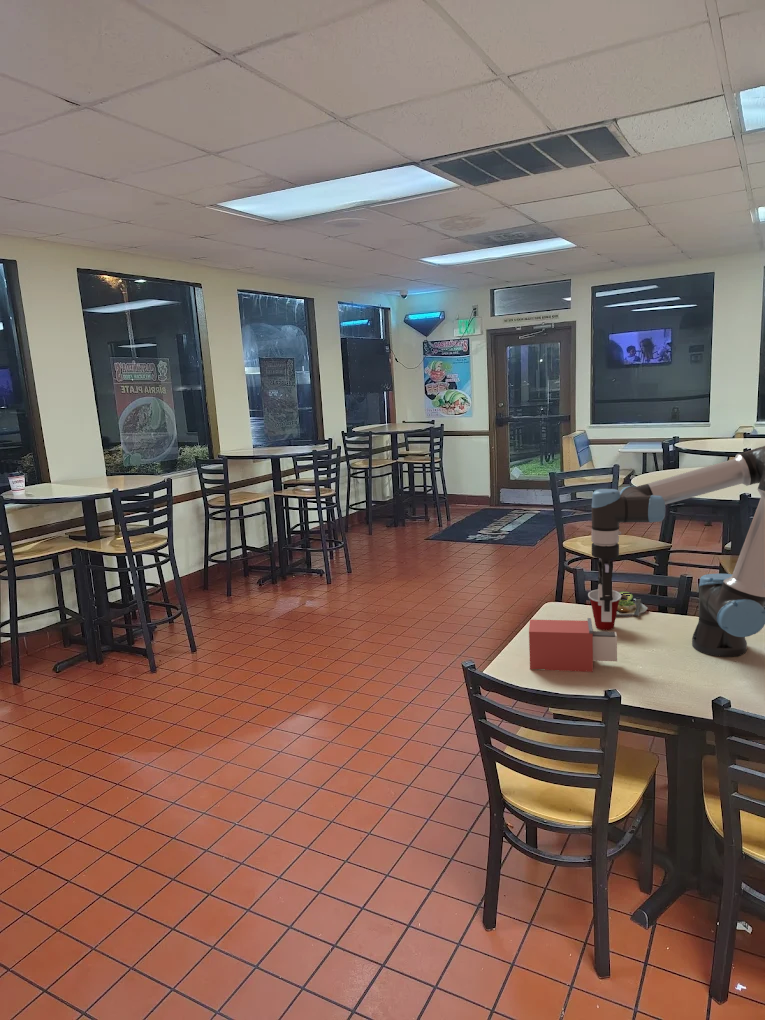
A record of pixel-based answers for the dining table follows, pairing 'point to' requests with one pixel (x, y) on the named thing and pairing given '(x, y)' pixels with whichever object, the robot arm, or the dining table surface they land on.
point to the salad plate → (630, 606)
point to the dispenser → (561, 645)
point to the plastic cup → (598, 609)
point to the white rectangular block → (604, 646)
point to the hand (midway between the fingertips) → (604, 613)
